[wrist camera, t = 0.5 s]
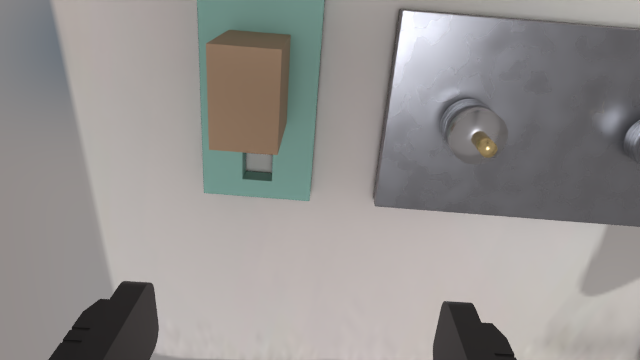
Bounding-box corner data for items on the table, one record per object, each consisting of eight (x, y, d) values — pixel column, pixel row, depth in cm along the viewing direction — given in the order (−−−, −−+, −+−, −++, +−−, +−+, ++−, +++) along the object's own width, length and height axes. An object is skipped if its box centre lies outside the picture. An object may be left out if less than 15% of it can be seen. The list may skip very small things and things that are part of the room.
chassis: (399, 8, 30) (416, 18, 24) (757, 38, 30) (861, 55, 24) (373, 197, 36) (381, 242, 30) (673, 220, 36) (739, 269, 30)
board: (200, -77, 28) (159, -92, 21) (329, -66, 28) (329, -78, 21) (208, 184, 36) (180, 235, 29) (310, 192, 36) (305, 244, 29)
